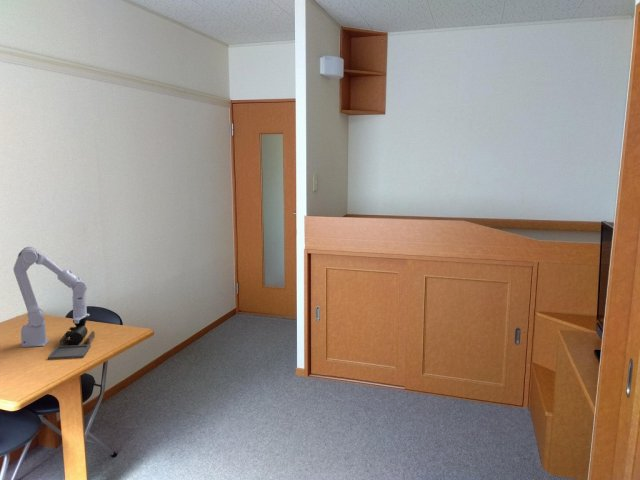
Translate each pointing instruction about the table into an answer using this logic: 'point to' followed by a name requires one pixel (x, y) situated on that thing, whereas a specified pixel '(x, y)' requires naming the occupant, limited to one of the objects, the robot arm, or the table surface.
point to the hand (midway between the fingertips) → (80, 333)
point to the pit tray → (69, 351)
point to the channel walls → (89, 339)
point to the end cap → (76, 335)
